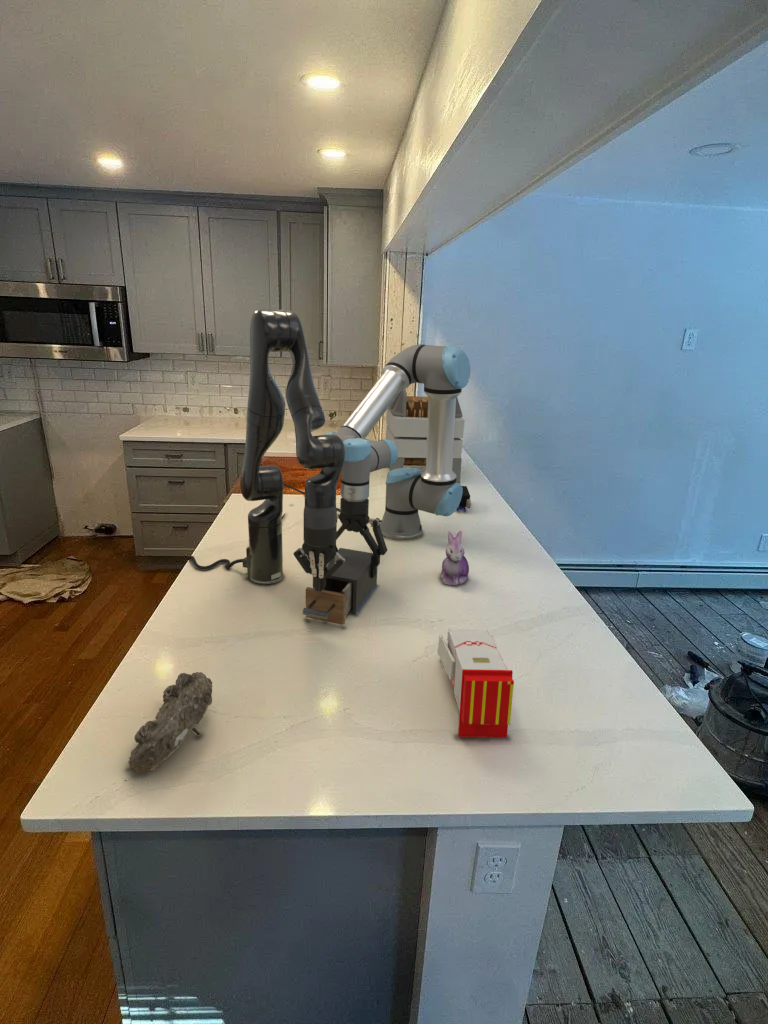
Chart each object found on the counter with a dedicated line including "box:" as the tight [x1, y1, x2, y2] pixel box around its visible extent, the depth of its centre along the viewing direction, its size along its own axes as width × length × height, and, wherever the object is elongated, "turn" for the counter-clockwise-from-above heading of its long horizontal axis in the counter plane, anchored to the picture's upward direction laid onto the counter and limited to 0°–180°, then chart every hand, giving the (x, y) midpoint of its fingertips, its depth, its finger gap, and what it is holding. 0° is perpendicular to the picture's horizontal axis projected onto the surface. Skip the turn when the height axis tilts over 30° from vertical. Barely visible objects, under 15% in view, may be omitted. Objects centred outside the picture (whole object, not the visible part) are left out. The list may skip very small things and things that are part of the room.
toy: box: [437, 628, 515, 738], centre depth 117 cm, size 12×13×30 cm
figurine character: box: [456, 485, 472, 513], centre depth 228 cm, size 7×8×15 cm
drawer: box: [302, 578, 353, 626], centre depth 144 cm, size 22×10×8 cm, turn 163°
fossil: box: [128, 671, 213, 773], centre depth 102 cm, size 22×10×15 cm
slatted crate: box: [384, 389, 465, 484], centre depth 268 cm, size 34×33×41 cm
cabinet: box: [326, 547, 378, 616], centre depth 154 cm, size 18×11×10 cm, turn 163°
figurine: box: [440, 530, 470, 586], centre depth 165 cm, size 9×10×15 cm
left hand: (319, 589), depth 135 cm, fingers closed
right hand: (352, 572), depth 157 cm, fingers closed on cabinet, 11 cm apart
